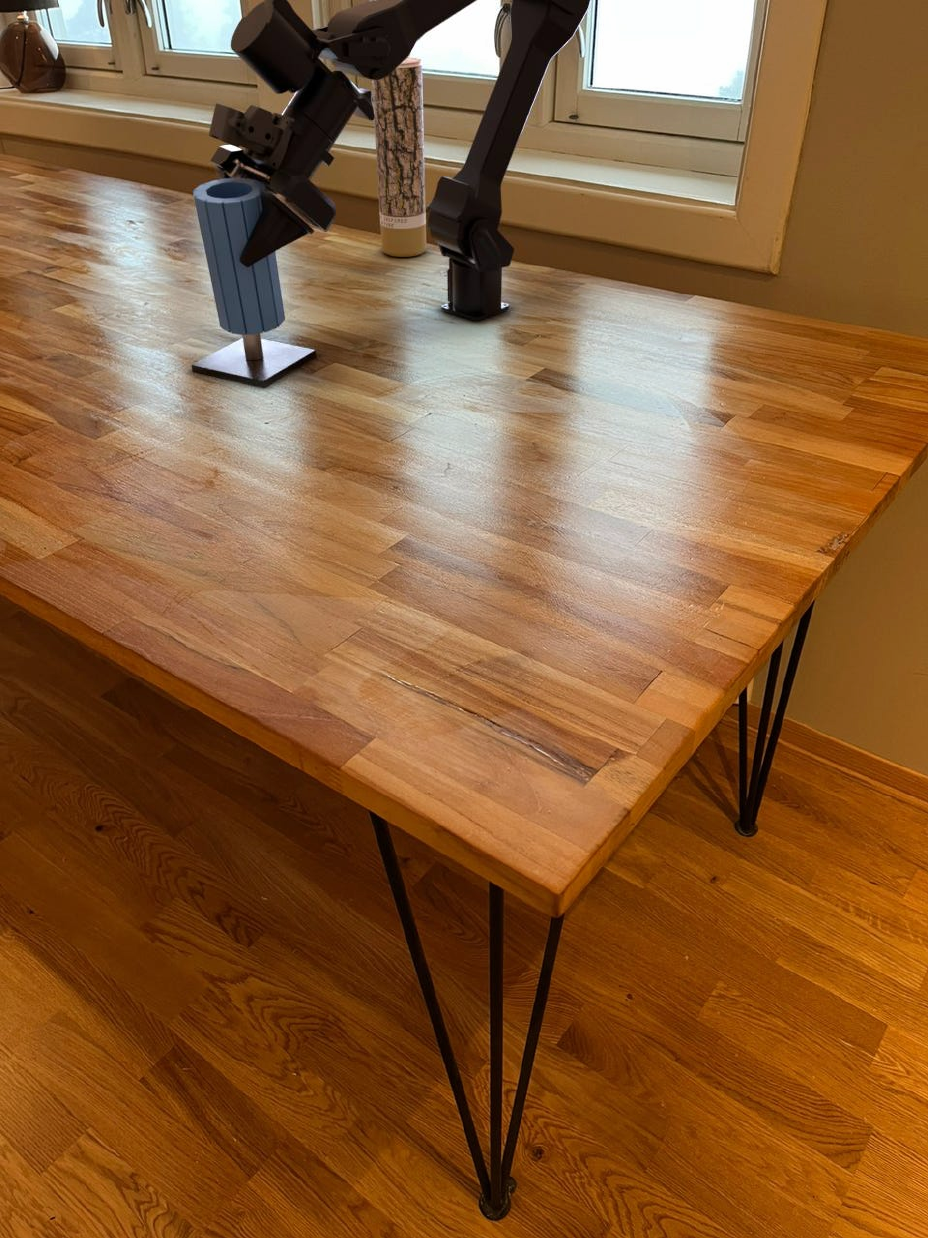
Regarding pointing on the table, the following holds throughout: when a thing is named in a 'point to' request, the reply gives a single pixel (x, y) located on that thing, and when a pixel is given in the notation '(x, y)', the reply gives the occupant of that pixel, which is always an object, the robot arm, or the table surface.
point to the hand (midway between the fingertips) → (227, 255)
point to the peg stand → (254, 361)
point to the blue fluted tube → (238, 257)
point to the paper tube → (401, 159)
